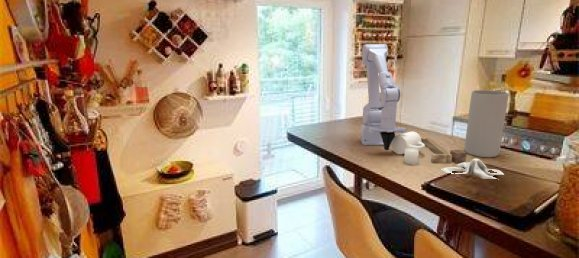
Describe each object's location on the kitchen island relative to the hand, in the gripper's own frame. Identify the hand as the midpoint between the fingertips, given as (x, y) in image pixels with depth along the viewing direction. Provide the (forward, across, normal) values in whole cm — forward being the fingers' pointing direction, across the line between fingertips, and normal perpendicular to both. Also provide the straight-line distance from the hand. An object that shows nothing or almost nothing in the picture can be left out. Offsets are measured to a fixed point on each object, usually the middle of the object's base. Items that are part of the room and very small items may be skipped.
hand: (386, 149), depth 135 cm
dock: (+2, +18, 0) cm, 18 cm away
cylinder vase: (+2, +39, +1) cm, 39 cm away
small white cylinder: (+2, +7, -10) cm, 13 cm away
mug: (+2, +10, 0) cm, 10 cm away
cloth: (+2, +26, -23) cm, 34 cm away
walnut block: (+2, +25, -9) cm, 27 cm away
